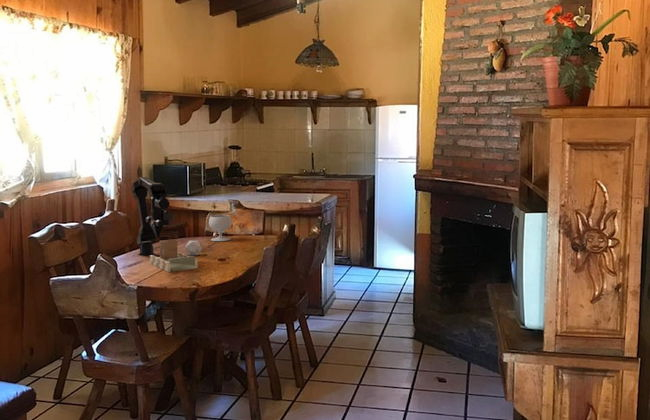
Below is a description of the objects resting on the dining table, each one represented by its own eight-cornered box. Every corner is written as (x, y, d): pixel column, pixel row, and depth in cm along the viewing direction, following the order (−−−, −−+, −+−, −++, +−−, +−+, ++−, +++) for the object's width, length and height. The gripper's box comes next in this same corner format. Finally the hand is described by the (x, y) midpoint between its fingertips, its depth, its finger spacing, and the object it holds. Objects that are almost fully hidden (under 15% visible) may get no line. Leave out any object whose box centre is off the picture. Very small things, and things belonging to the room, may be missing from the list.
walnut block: (160, 258, 340) (159, 240, 339) (173, 256, 344) (172, 239, 343) (164, 260, 336) (163, 242, 334) (177, 258, 340) (177, 241, 338)
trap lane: (150, 264, 341) (149, 252, 340) (178, 260, 350) (178, 249, 349) (167, 272, 322) (167, 259, 321) (197, 268, 331) (197, 256, 330)
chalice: (221, 242, 402) (221, 218, 400) (204, 240, 410) (203, 216, 408) (236, 239, 414) (236, 215, 412) (219, 237, 421) (219, 213, 420)
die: (193, 258, 359) (203, 243, 361) (180, 250, 360) (190, 235, 362) (196, 260, 367) (206, 246, 369) (183, 252, 367) (193, 238, 370)
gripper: (178, 208, 345) (179, 238, 347) (164, 204, 361) (165, 233, 362) (157, 209, 339) (159, 240, 341) (144, 206, 354) (145, 235, 356)
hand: (158, 237), depth 350 cm, fingers closed
